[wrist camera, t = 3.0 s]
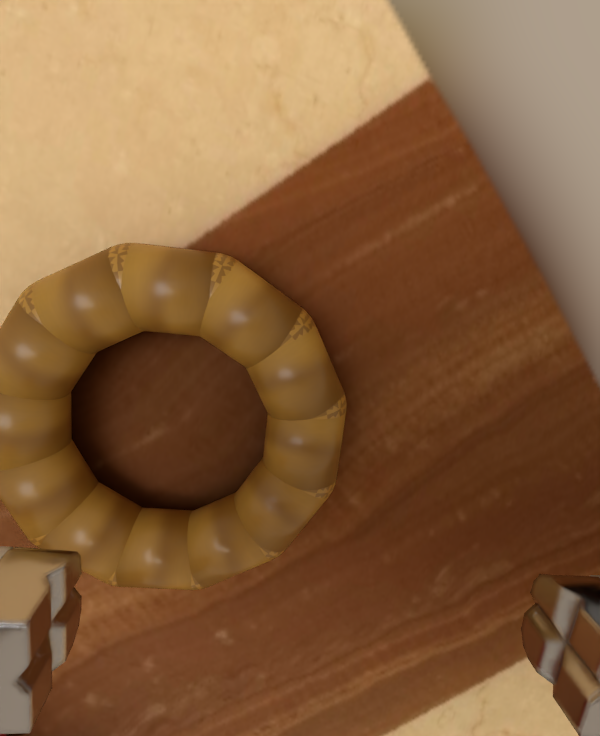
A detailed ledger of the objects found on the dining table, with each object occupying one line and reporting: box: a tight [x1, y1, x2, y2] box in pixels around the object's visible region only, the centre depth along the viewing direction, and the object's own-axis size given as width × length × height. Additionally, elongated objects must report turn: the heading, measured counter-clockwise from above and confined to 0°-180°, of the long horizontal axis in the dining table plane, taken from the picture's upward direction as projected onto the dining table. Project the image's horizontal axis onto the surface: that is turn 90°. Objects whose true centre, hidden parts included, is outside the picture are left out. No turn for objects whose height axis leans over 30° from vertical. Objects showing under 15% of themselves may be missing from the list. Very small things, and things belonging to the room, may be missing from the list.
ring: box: [0, 243, 347, 590], centre depth 15 cm, size 12×12×3 cm
